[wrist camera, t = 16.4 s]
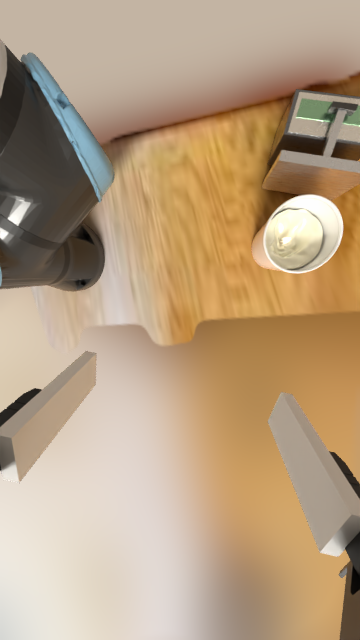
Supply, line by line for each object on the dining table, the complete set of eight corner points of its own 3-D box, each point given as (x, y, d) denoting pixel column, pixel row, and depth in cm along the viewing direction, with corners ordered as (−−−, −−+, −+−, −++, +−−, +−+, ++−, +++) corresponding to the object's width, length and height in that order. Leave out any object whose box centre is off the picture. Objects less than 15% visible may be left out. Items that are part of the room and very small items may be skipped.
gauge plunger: (261, 188, 35) (278, 160, 26) (274, 139, 33) (298, 92, 24) (331, 200, 34) (373, 175, 25) (349, 150, 32) (402, 105, 23)
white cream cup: (250, 219, 37) (268, 194, 25) (305, 219, 36) (352, 193, 24) (244, 272, 39) (259, 272, 28) (296, 274, 38) (334, 274, 26)
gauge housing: (267, 164, 35) (283, 133, 27) (276, 130, 33) (296, 87, 26) (337, 175, 33) (376, 146, 26) (350, 141, 32) (394, 99, 24)
